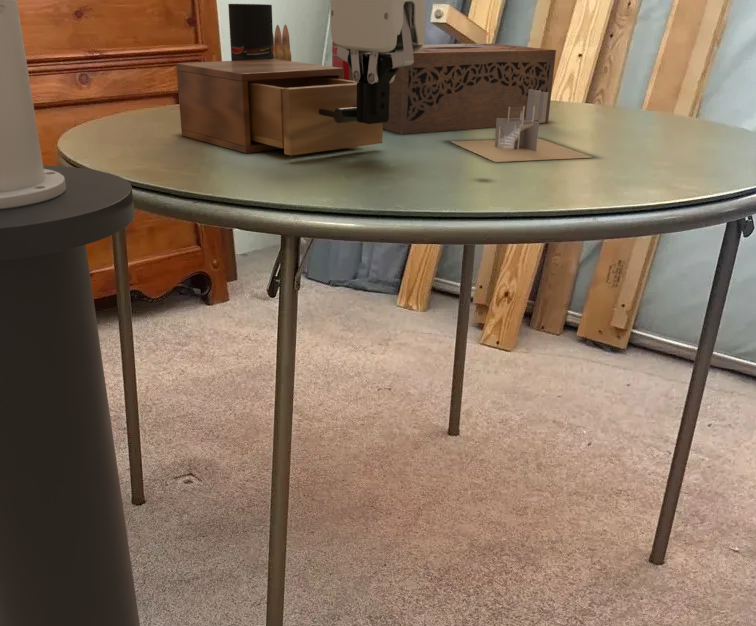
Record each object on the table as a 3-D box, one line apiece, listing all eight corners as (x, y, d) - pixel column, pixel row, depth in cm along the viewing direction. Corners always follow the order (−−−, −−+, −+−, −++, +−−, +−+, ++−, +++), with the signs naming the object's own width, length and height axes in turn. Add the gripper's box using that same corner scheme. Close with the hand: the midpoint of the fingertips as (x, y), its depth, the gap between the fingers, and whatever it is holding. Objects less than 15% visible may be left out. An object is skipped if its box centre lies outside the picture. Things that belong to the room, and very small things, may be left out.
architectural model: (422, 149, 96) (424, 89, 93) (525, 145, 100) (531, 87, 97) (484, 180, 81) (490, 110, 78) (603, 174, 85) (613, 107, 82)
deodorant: (273, 114, 119) (269, 4, 112) (277, 120, 114) (273, 5, 107) (233, 114, 118) (227, 3, 111) (235, 120, 112) (229, 4, 106)
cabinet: (343, 140, 100) (344, 68, 96) (245, 153, 91) (241, 73, 87) (276, 125, 110) (274, 58, 106) (181, 135, 101) (175, 63, 97)
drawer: (407, 148, 91) (409, 86, 88) (314, 162, 83) (313, 93, 80) (312, 128, 103) (312, 72, 100) (223, 137, 95) (219, 77, 92)
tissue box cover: (487, 109, 129) (493, 43, 124) (548, 122, 118) (556, 50, 113) (348, 118, 117) (349, 45, 112) (401, 134, 105) (404, 53, 101)
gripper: (459, -76, 74) (447, 128, 82) (356, -71, 84) (354, 111, 92) (400, -82, 69) (394, 135, 77) (298, -75, 79) (302, 116, 87)
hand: (372, 121), depth 84 cm, fingers closed
